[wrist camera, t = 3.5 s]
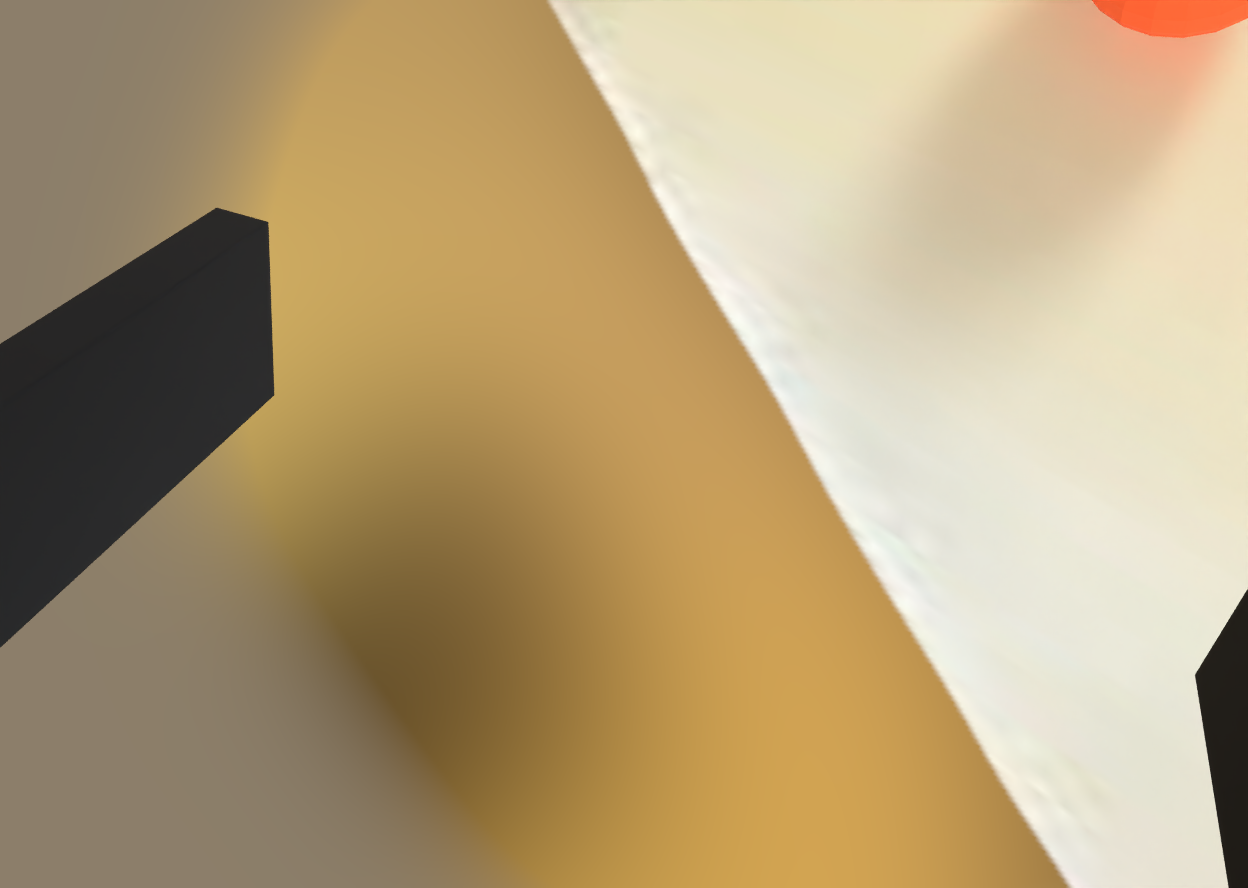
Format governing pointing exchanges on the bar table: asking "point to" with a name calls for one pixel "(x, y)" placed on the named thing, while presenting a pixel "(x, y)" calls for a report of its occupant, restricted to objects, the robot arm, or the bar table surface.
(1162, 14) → the clementine
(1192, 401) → the bar table surface
